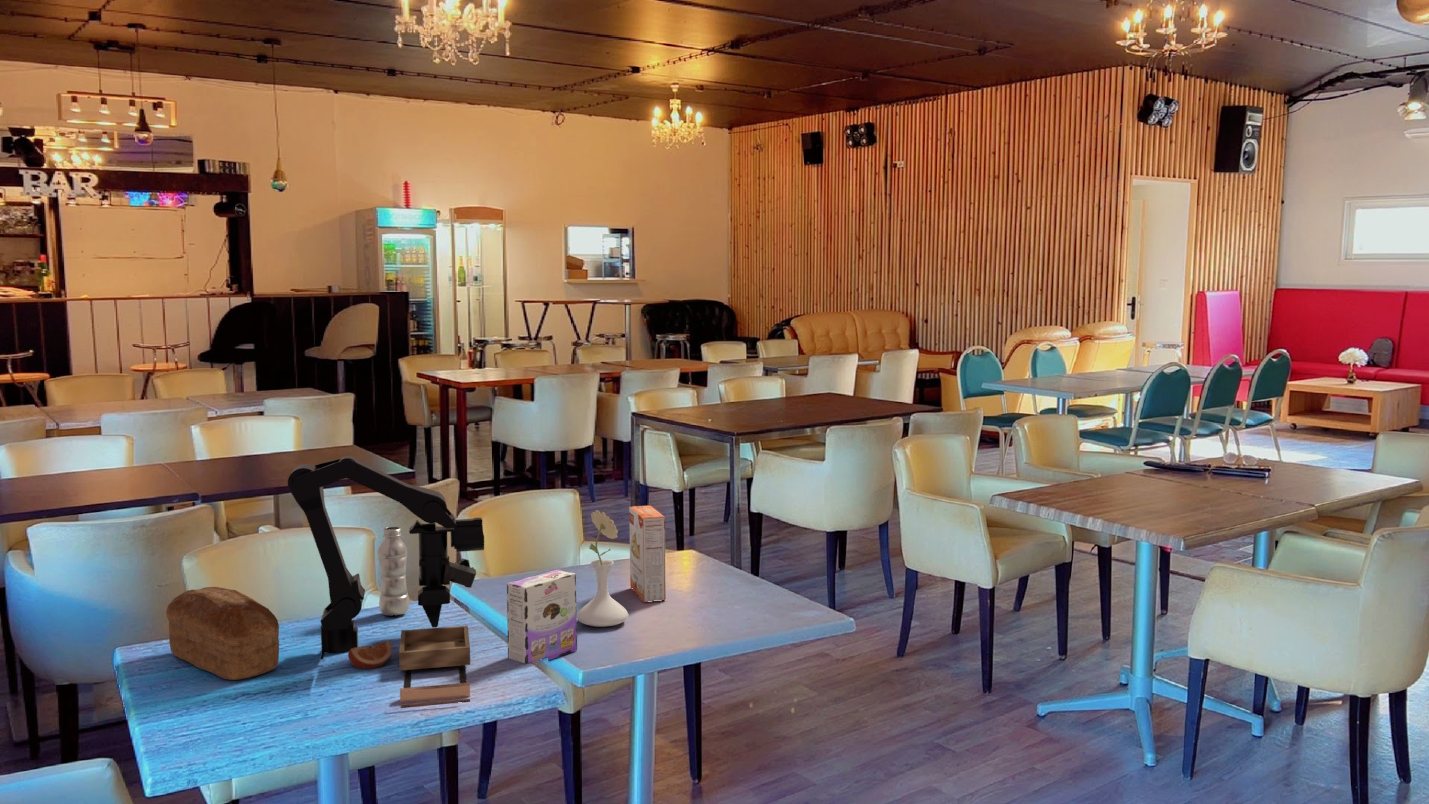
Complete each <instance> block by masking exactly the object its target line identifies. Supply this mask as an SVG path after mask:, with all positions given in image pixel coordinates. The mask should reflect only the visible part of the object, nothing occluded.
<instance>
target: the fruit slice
mask: <svg viewBox="0 0 1429 804" xmlns="http://www.w3.org/2000/svg"><path fill="white" fill-rule="evenodd" d="M392 654H393V643H392V641H391V640H388V641H387V640H386V641H382V642H378V643H376V644H374V645H363V646H358V647H356V648H352V649H350V650H349V651H348V653H347V655H348V659H349V661H350V663H351V664H352V665H353V666H354V667H355V668H358V669H364V670H365V669H367V670H368V669H376V668H380V667H382V666H384V665H385V664H386V663H387V662H388V661H389V659H390V658H391V657H392Z"/></svg>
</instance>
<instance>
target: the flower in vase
mask: <svg viewBox="0 0 1429 804" xmlns="http://www.w3.org/2000/svg"><path fill="white" fill-rule="evenodd" d="M590 516H591V522H592V524H594V525H595V528H596V529H597V530H598V533H597V535H596V539H595V545H594V544H593V543H590V546H589V550H591V551H592V552H594V553H595V554H597V557H598V560H594V561H592V562H590V564H591V566H592V567H593V568H594V570H595V574H596V580H597V581H596V582H597V591H596V593H595V596H594V598H592V599H591V600H590V601H588V602H587V603H586V604H585V605H584V606H583V607H581V609H580V610H579V611H578V613H577V614H576V615H577V620H578V621H579V622H580V623H582V624H584V625H587V626H590V627H596V628H597V627H600V628H601V627H612V626H617V625H620V624H623V622H626V620H627V619H628V617H629V612H628V611H627V609H626V608H625V607H624V606H623V605H621V604H620V603H619V602H618V601H616V599H614V598H612V597H611V595H610V593H609V587H608V585H609V584H608V583H609V575H610V574H609V573H610V571H611V568H612V566H613V565H614V564H615V563H614V561H613V560H610V559H601V556H603V555H604V554H606V553H607V552H609V551H611V548H609V549H608V550H606V551H603V552H602V553H601V554H600V552H599V549H598V540H599V538H600V534H602V535H603V536H605V537H607V538H608V539H611V540H615V539H616V538H618V533H619V530H618V529H617V526H616V525H615V521H614V520H613V519H610V517H609V516H608V515H606V513H605V512H604V511H603V512H600V510H597V509H596V510H595V511H592V513H590Z"/></svg>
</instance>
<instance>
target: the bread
mask: <svg viewBox="0 0 1429 804" xmlns="http://www.w3.org/2000/svg"><path fill="white" fill-rule="evenodd" d="M165 614H166V619H167V620H168V639H169V647H170V652H171V653H172V654H173V655H174V656H175V657H177V658H178V659H180V660H184V661H186V662H188V663H189V664H191V665H193V666H195V667H197V668H199V669H201V670H205V671H207V672H210V673H212V674H214V675H216V676H217V677H220V678H221V679H225V680H229V681H230V680H231V681H236V680H243V679H248V678H252V677H257V676H260V675H262V674H266V673H268V672H270V671H272V670H275V669H277V666H278V664H279V659H280V656H279V655H280V639H279V637H280V636H279V634H280V633H279V632H280V625H279V620H278V619H277V617H276V615H275V614H274V613H273V612H272V611H271V610H270V608H268V607H266V606H264V605H263V604H261V603H260V602H258V601H257V600H255V599H253V598H252V597H250V596H248V595H246V594H243V593H241V592H240V591H237V590H236V589H229V588H226V587H225V588H223V587H218V586H207V587H202V588H199V589H190V590H186V591H184V592H183V593H181V594H179V595H178V596H176V597H175V598H173V599H172V600H171V601H170V603H169V604H168V605H167V608H166V613H165Z"/></svg>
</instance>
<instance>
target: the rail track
mask: <svg viewBox="0 0 1429 804" xmlns="http://www.w3.org/2000/svg"><path fill="white" fill-rule="evenodd" d="M412 671H413V669H411V670H404V681H403V687H401V688H400V690H399V702H400V709H406V708H417V707H427V706H437V705H439V706H440V705H446V704H447V705H450V704H459V703H458V702H462V703H471V698H468V697H471V684H470V683H471V682H467V672H466V665H460V666H458V673H459V674H458V675H459V683H448V684H447V683H446V684H437V685H425V686H424V685H423V686H412V685H411V684H412V673H413V672H412ZM411 686H412V687H411ZM459 698H460V699H459ZM461 698H463V699H461ZM449 699H450V700H449ZM451 699H452V700H451ZM435 700H438V701H435ZM440 700H442V701H440ZM425 701H426V702H425ZM427 701H428V702H427ZM429 701H430V702H429ZM412 702H413V703H412ZM414 702H417V703H414ZM419 702H420V703H419ZM404 703H405V704H404ZM406 703H408V704H406Z"/></svg>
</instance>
